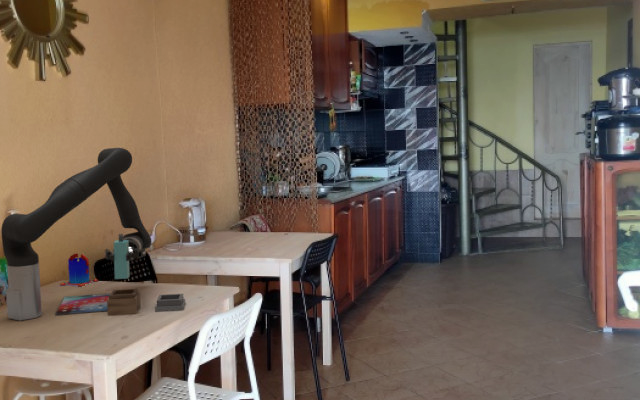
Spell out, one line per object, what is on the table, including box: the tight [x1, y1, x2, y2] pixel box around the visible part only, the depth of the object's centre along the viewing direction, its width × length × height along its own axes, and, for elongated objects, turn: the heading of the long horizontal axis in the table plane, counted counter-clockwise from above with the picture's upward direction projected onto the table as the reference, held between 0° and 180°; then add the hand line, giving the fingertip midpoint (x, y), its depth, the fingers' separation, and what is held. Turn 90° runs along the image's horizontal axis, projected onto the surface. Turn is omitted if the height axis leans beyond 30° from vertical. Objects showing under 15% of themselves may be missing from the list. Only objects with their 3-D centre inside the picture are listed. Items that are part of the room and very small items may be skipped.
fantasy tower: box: [59, 253, 99, 288], centre depth 251 cm, size 12×12×12 cm
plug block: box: [113, 233, 130, 280], centre depth 209 cm, size 4×4×14 cm
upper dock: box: [107, 288, 142, 316], centre depth 211 cm, size 9×9×6 cm
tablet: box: [54, 292, 112, 316], centre depth 221 cm, size 19×25×1 cm
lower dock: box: [154, 293, 186, 313], centre depth 215 cm, size 9×9×4 cm
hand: (120, 257), depth 206 cm, fingers closed on plug block, 4 cm apart
